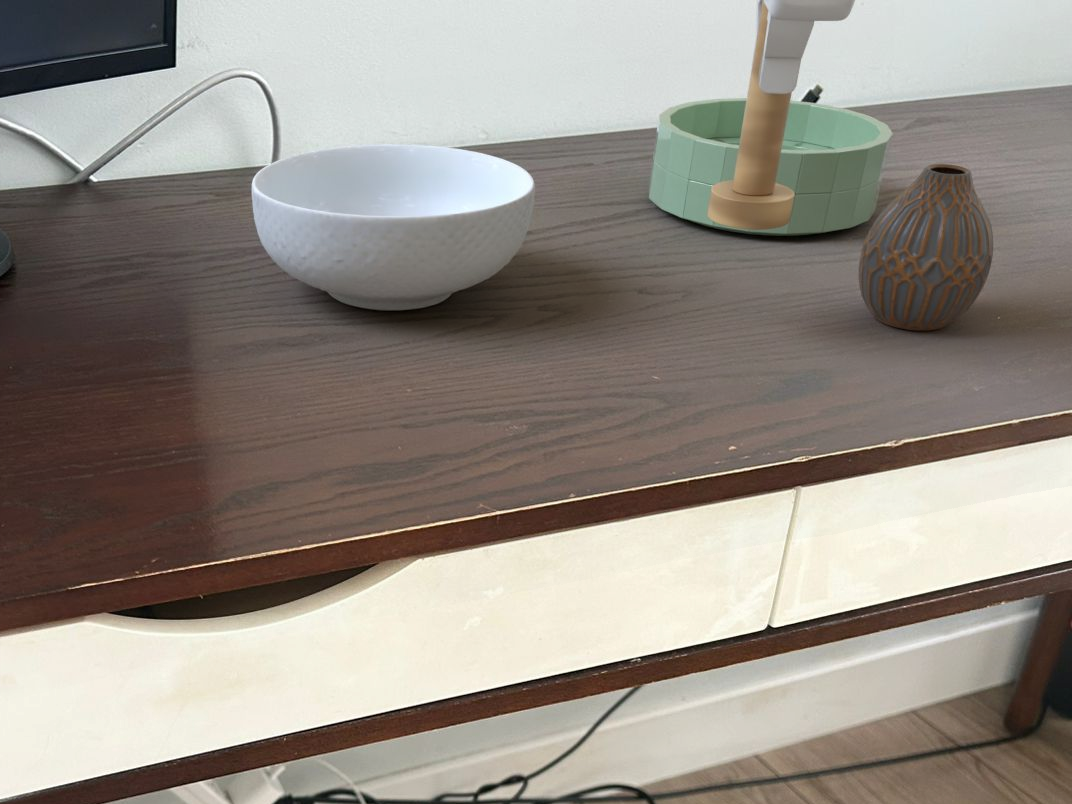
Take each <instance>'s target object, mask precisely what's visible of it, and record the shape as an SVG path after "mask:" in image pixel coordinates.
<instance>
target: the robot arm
mask: <svg viewBox="0 0 1072 804" xmlns="http://www.w3.org/2000/svg"><path fill="white" fill-rule="evenodd" d="M763 1H764V3H765V5H766V7H767V9H768V16H767V21H768V24H767V31H766V38H765V45H764V52H762V56H761V62H760V69H759V74H758V82H759V87H760V89H761V91H763V92H764V93H765V94H789V93H791V92H794V91H795V89H796V87H797V85H798V81H799V80H798V79H799V73H800V69H801V63H802V62H801V61H802V58H803V56H804V54H805V50H806V47H807V46H808V42H809V40H810V37H811V34H812V31H813V28H814V25H815V22H839V21H844V20H845V19H847V18H848V17H849V16H850V14H851V12H852V10H853V7H854V4H855V2H856V0H756V18H755V21H756V22H755V41H754V48H753V52H752V53H753V54H752V58H753V57H754V51H755V45H756V39H757V33H758V27H759V21H760V14H761V8H762V2H763ZM752 63H753V59H752V60H751V64H752Z"/></svg>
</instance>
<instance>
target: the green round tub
mask: <svg viewBox="0 0 1072 804" xmlns="http://www.w3.org/2000/svg"><path fill="white" fill-rule="evenodd" d="M746 100H747V97H733V98H731V97H730V98H713V99H704V100H695V101H688V102H684V103H682V104H681V103H680V104H678V105H674V106H669V107H668V108H667V109H665V110H664V111H663V112H661V113H660V114H659V115H658V119H657V125H656V126H657V127H656V133H655V140H654V147H653V153H652V162H651V168H650V173H649V174H650V176H649V181H648V199H649V200H650V201H651V202H652V203H653V204H654V205H656V206H657V207H658V208H659V209H661V210H662V211H665V212H667V213H669V214H671V215H674V216H676V217H678V218H681V219H683V220H687V221H689V222H692V223H695V224H696V225H697V224H698V225H701V226H704V227H707V228H712V229H715V230H716V229H717V230H721V231H726V232H732V233H739V234H747V235H756V236H770V237H771V236H774V237H783V236H784V237H792V236H793V237H794V236H809V235H816V234H823V233H828V232H833V231H841V230H845V229H852V228H854V227H856V226H858V225H861V224H863V223H866V222H869V220H870V219H871V218H872V216H873V215H874V213H875V212H876V208H877V204H878V200H879V196H880V192H881V187H882V184H883V179H884V175H885V174H884V173H885V171H886V166H887V162H888V157H889V153H890V149H891V145H892V140H893V136H894V133H893V132H892V130H891V129H890V126H889V125H888V124H886V123H884V122H883V121H880V120H879V119H876V118H875V117H872V116H870V115H867V114H864V113H861V112H857V111H854V110H851V109H848V108H842V107H837V106H833V105H826V104H821V103H817V102H809V101H801V100H800V101H799V100H791V99H790V105H789V110H788V116H787V121H786V127H785V133H784V138H783V144H782V149H781V155H780V160H779V166H778V171H777V177H776V183H777V184H780V185H783V186H786V187H788V188H790V189H792V190H793V191H794V193H795V196H794V201H793V207H792V212H791V217H790V221H789V223H788V224H786V225H784V226H782V227H778V228H773V229H762V230H753V229H740V228H734V227H729V226H725V225H721V224H718V223H716V222H714V221H712V220H711V219H709V217H708V215H707V213H708V206H709V200H710V193H711V188H712V186H713V185H715V184H717V183H720V182H724V181H730V180H734V174H735V168H736V161H737V155H738V149H739V143H740V137H741V131H742V125H743V119H744V112H745V106H746Z"/></svg>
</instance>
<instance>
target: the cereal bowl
mask: <svg viewBox="0 0 1072 804" xmlns="http://www.w3.org/2000/svg"><path fill="white" fill-rule="evenodd" d="M535 183H536V182H535V180H534V178H533V176H532V175H531V174H530V173H529V171H527V170H526V169H525V168H523V167H522V166H520V165H518V164H516V163H514V162H511V161H509V160H507V159H504V158H500V157H497V156H494V155H491V154H490V155H489V154H486V153H482V152H479V151H478V152H477V151H474V150H473V151H472V150H469V149H462V148H456V147H455V148H454V147H447V146H446V147H445V146H439V145H436V146H435V145H425V144H403V143H402V144H401V143H400V144H399V143H382V144H379V143H378V144H361V145H359V144H358V145H348V146H338V147H337V146H336V147H329V148H321V149H317V150H311V151H306V152H302V153H297V154H294V155H290V156H287V157H284V158H280V159H279V160H276V161H273V162H271V163H269V164H268V165H266V166H264V167H263V168H261V169H260V170H259V171H258V172H256V174H255V175H254V177H253V179H252V181H251V200H252V201H251V203H252V204H251V206H252V212H253V220H254V224H255V229H256V231H257V235H258V238H259V240H260V244H261V245H262V247H263V248H264V250H265V251H266V253H267V254H268V256H269V257H270V258H271V260H272V261H273V262H274V263H275V264H276V265H277V266H278V267H279V268H280V269H282V270H283V271H284V272H285V273H287V274H288V275H289V276H290V277H292V278H294V279H296V280H298V281H299V282H301V283H304V284H306V285H307V286H311V287H313V288H314V289H319V290H321V291H324V292H326V293H327V294H328V295H329V296H331V297H332V298H333V299H335V300H336V301H338V302H341V303H342V304H345V305H348V306H351V307H356V308H361V309H366V310H373V311H375V310H376V311H408V310H418V309H424V308H428V307H431V306H435V305H437V304H440V303H442V302H444V301H445V300H447V299H448V298H449V297H450V296H452V294H453V293H456V292H458V291H462V290H466V289H468V288H471V287H473V286H475V285H478V284H480V283H483V282H484V281H486V280H489V279H490V278H491V277H492V276H495V275H496V274H498V272H499V271H501V270H503V269H504V268H505V266H506V265H508V264H509V263H510V262H511V261H512V259H513V258H514V257H515V256H516V255H517V254H518V252H519V250H520V248H521V247H522V245H523V244H524V241H525V239H526V237H527V233H528V230H529V227H530V225H531V223H532V222H531V219H532V217H533V212H534V210H533V209H534V203H535V193H536V184H535Z"/></svg>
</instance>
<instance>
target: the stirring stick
mask: <svg viewBox="0 0 1072 804" xmlns="http://www.w3.org/2000/svg"><path fill="white" fill-rule="evenodd" d="M767 16H768V9H767V7H766V5H765V3H764V1H763V2H762V8H761V14H760V21H759V27H758V33H757V39H756V38H755V40H756V45H755V44H754V47H755V51H754V50H753V53H754V57H753V56H752V60H753V63H752V62H751V70H750V77H749V83H748V87H747V88H748V89H747V93H746V98H747V100H746V106H745V112H744V119H743V125H742V131H741V137H740V143H739V149H738V155H737V161H736V168H735V174H734V180H730V181H724V182H720V183H717V184H715V185H713V186H712V188H711V193H710V200H709V206H708V213H707V215H708V217H709V219H711V220H712V221H714V222H716V223H718V224H721V225H725V226H729V227H734V228H740V229H753V230H762V229H773V228H778V227H782V226H784V225H786V224H788V223H789V221H790V217H791V212H792V207H793V201H794V196H795V193H794V191H793V190H792V189H790V188H788V187H786V186H783V185H780V184H777V183H776V177H777V171H778V166H779V160H780V155H781V149H782V144H783V138H784V133H785V127H786V121H787V116H788V110H789V105H790V100H791V98H792V92H793V91H792V92H791V93H789V94H765V93H764V92H763V91H761V89H760V87H759V82H758V74H759V69H760V62H761V56H762V52H764V45H765V38H766V31H767V24H768V21H767Z"/></svg>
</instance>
